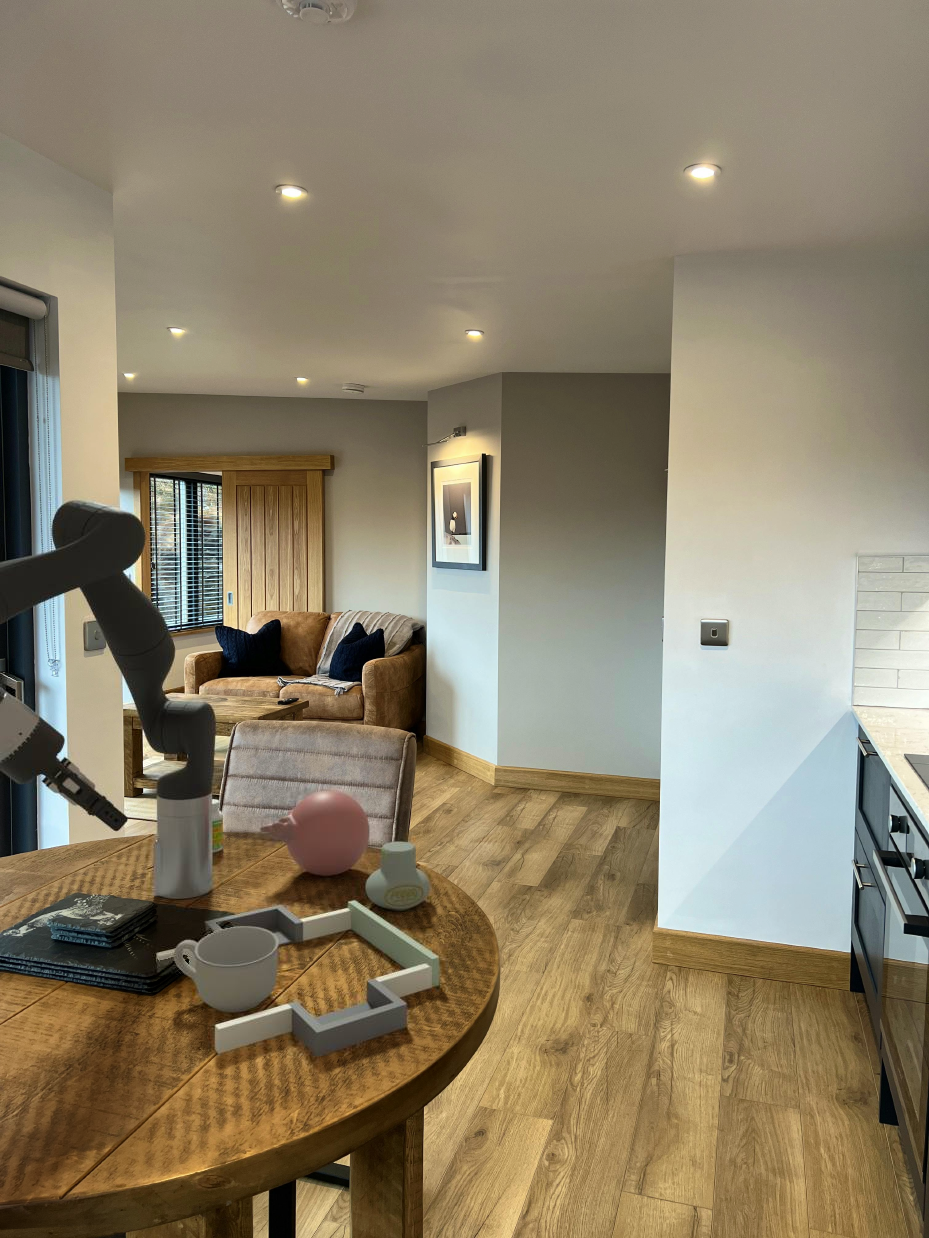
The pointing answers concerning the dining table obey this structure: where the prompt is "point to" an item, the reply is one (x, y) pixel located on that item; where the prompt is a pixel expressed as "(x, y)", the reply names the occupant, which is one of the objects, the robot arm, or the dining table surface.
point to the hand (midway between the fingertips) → (115, 818)
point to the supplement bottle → (217, 827)
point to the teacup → (232, 967)
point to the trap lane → (346, 1024)
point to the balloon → (324, 832)
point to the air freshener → (398, 879)
